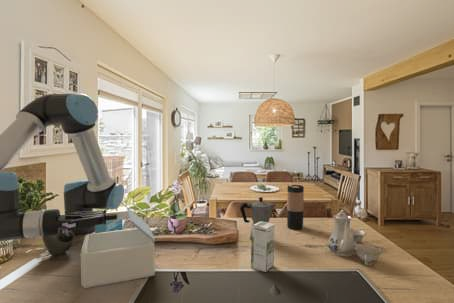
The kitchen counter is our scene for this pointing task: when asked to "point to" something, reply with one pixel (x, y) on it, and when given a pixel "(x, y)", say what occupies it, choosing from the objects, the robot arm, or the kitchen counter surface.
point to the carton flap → (140, 224)
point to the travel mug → (295, 207)
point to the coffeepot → (258, 212)
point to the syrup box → (262, 246)
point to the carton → (116, 257)
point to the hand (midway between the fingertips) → (127, 214)
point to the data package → (109, 226)
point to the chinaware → (350, 241)
